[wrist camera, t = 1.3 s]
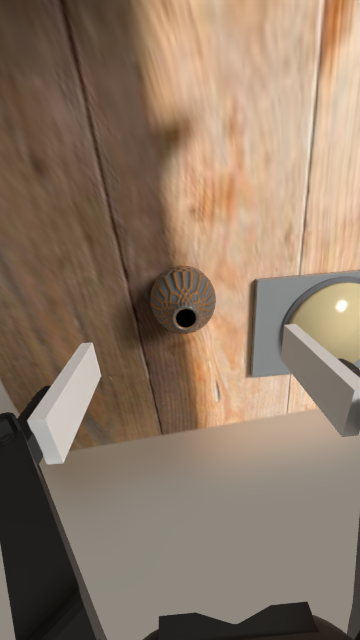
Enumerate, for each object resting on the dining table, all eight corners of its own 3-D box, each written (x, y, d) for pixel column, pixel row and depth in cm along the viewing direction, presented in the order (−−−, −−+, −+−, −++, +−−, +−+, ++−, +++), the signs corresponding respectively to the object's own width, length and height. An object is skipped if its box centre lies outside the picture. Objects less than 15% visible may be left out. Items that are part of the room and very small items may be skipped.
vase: (207, 315, 30) (221, 352, 22) (153, 316, 30) (147, 353, 22) (211, 260, 27) (228, 280, 19) (151, 260, 27) (144, 280, 19)
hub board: (255, 279, 28) (261, 283, 26) (420, 264, 28) (437, 267, 27) (250, 373, 34) (255, 383, 32) (387, 361, 34) (399, 369, 32)
